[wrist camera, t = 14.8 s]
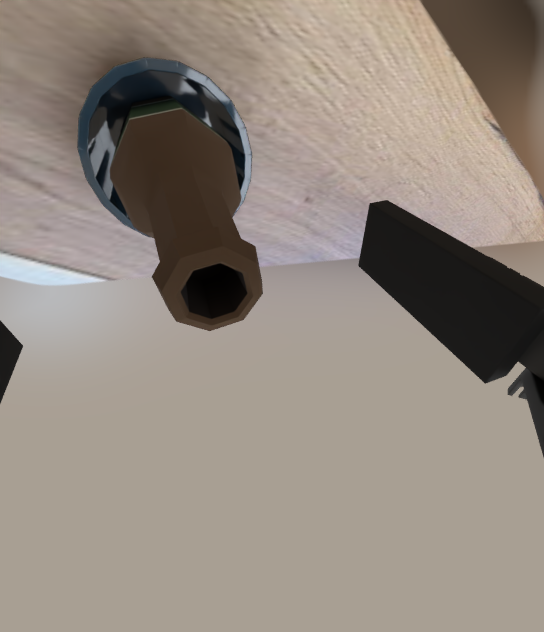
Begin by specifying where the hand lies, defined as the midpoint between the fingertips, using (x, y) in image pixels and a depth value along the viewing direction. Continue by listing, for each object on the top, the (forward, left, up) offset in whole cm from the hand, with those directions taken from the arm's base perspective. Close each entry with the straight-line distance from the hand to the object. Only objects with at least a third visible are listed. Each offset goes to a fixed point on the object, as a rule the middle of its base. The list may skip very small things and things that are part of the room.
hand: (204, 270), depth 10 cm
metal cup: (0, 0, -23) cm, 23 cm away
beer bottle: (0, 0, -23) cm, 23 cm away
